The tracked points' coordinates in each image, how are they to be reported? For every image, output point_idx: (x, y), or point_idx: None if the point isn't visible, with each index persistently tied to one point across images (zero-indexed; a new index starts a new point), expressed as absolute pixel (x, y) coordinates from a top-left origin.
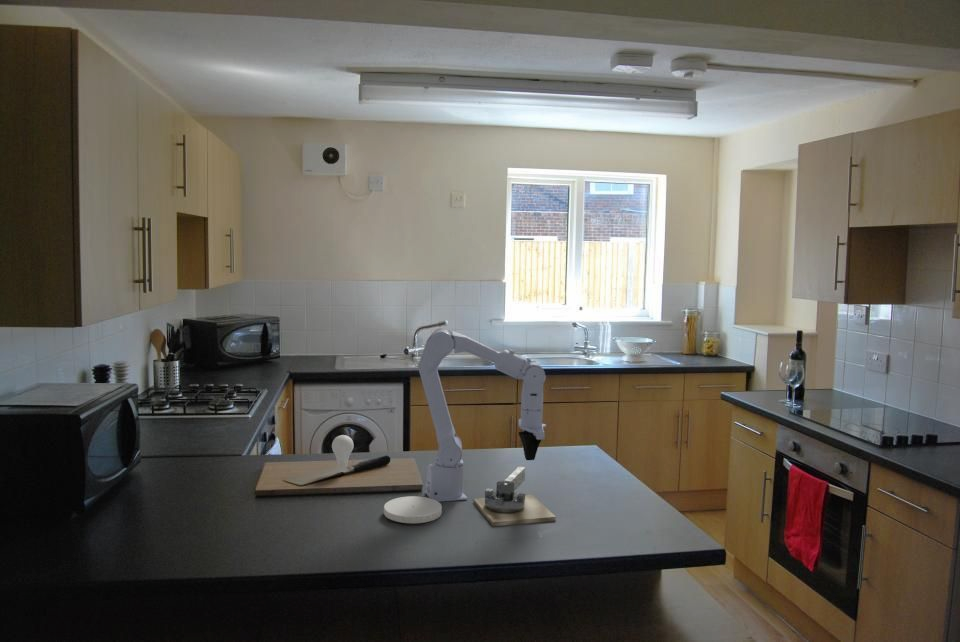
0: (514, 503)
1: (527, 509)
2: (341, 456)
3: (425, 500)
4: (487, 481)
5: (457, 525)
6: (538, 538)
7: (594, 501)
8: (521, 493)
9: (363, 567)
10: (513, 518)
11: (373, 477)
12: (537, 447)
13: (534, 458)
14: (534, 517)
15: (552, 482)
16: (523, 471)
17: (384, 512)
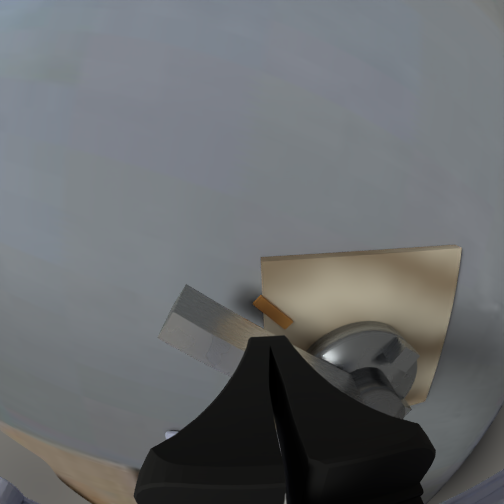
0: (408, 369)
1: (395, 315)
2: None
3: (285, 498)
4: (85, 347)
5: None
6: (499, 315)
7: (331, 36)
8: (257, 302)
9: (432, 493)
10: (430, 360)
11: (107, 497)
12: (329, 386)
13: (288, 340)
14: (446, 309)
15: (97, 119)
16: (204, 322)
17: None
